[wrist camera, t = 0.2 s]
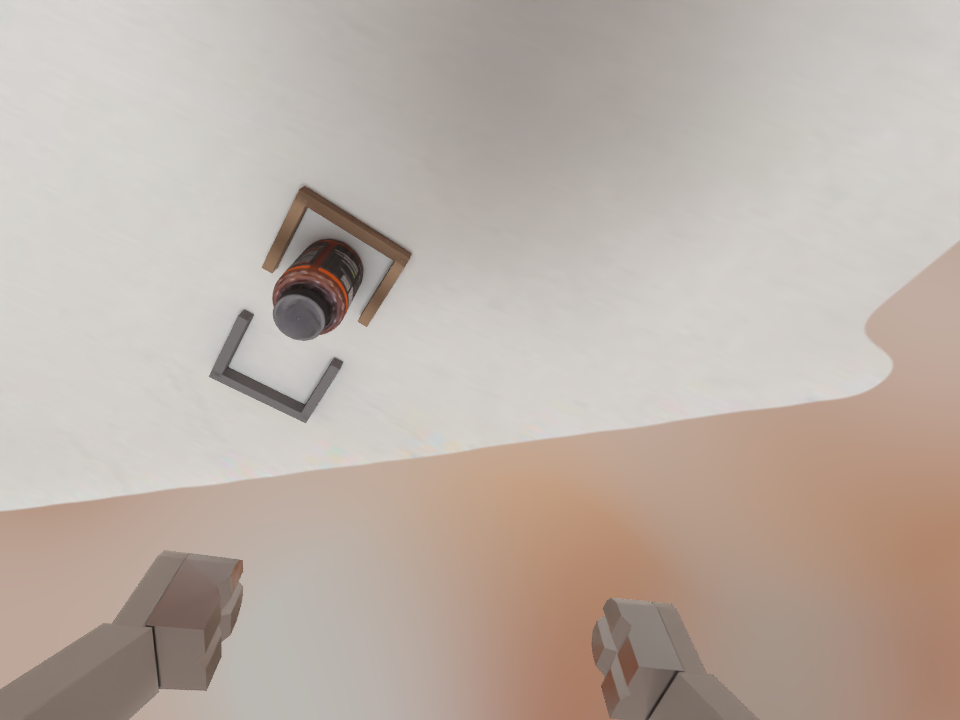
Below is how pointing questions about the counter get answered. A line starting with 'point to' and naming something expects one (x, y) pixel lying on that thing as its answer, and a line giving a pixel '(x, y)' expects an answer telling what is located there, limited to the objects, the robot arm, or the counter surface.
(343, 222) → the walnut bay
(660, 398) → the counter surface
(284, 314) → the supplement bottle
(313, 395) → the charcoal bay
